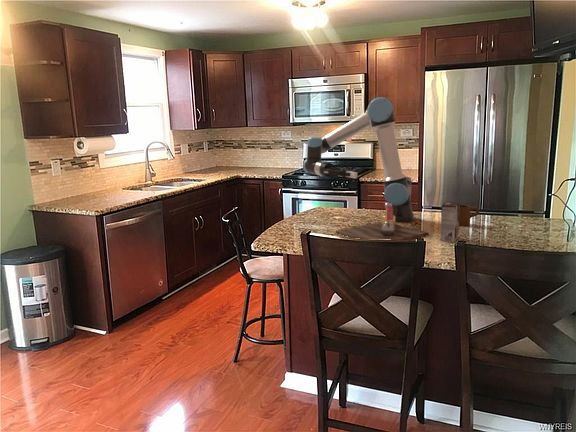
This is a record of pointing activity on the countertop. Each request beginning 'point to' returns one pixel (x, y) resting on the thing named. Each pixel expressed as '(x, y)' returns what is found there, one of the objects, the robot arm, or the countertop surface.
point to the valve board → (375, 232)
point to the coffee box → (450, 221)
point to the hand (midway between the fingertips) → (356, 175)
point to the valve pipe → (388, 226)
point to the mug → (466, 214)
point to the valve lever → (389, 211)
